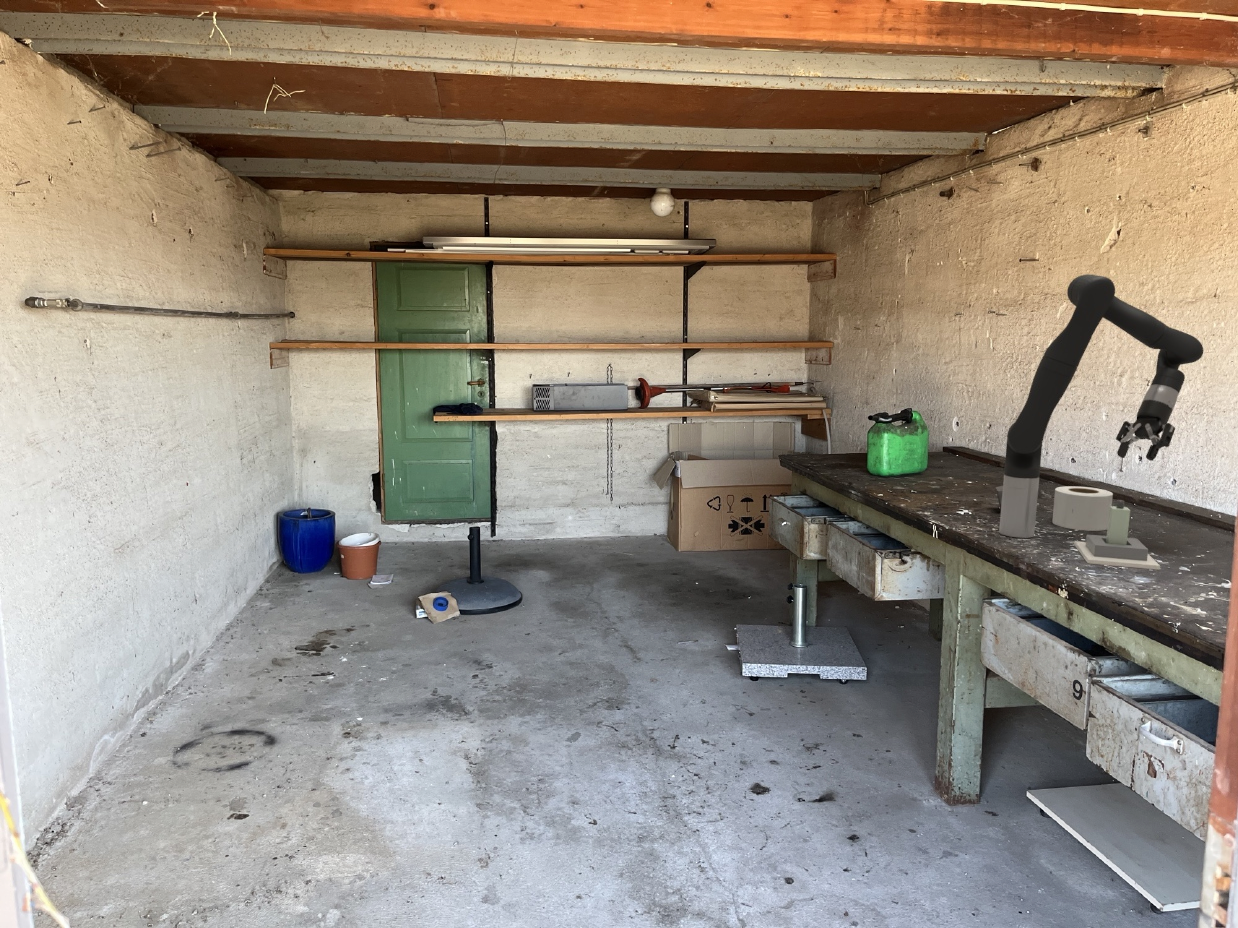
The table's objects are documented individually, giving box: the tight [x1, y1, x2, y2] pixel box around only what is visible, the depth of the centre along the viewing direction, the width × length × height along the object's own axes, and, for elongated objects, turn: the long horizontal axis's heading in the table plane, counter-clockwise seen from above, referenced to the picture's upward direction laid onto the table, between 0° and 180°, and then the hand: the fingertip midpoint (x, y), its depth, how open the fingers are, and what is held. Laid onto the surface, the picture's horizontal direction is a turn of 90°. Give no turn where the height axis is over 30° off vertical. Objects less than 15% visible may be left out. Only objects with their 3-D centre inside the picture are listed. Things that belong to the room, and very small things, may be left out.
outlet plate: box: [1073, 534, 1161, 571], centre depth 226 cm, size 20×16×4 cm
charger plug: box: [1106, 499, 1131, 545], centre depth 225 cm, size 4×4×14 cm
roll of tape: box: [1052, 485, 1114, 532], centre depth 261 cm, size 16×15×11 cm
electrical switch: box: [995, 485, 1003, 510], centre depth 279 cm, size 9×5×9 cm, turn 162°
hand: (1134, 458), depth 234 cm, fingers open, 8 cm apart
